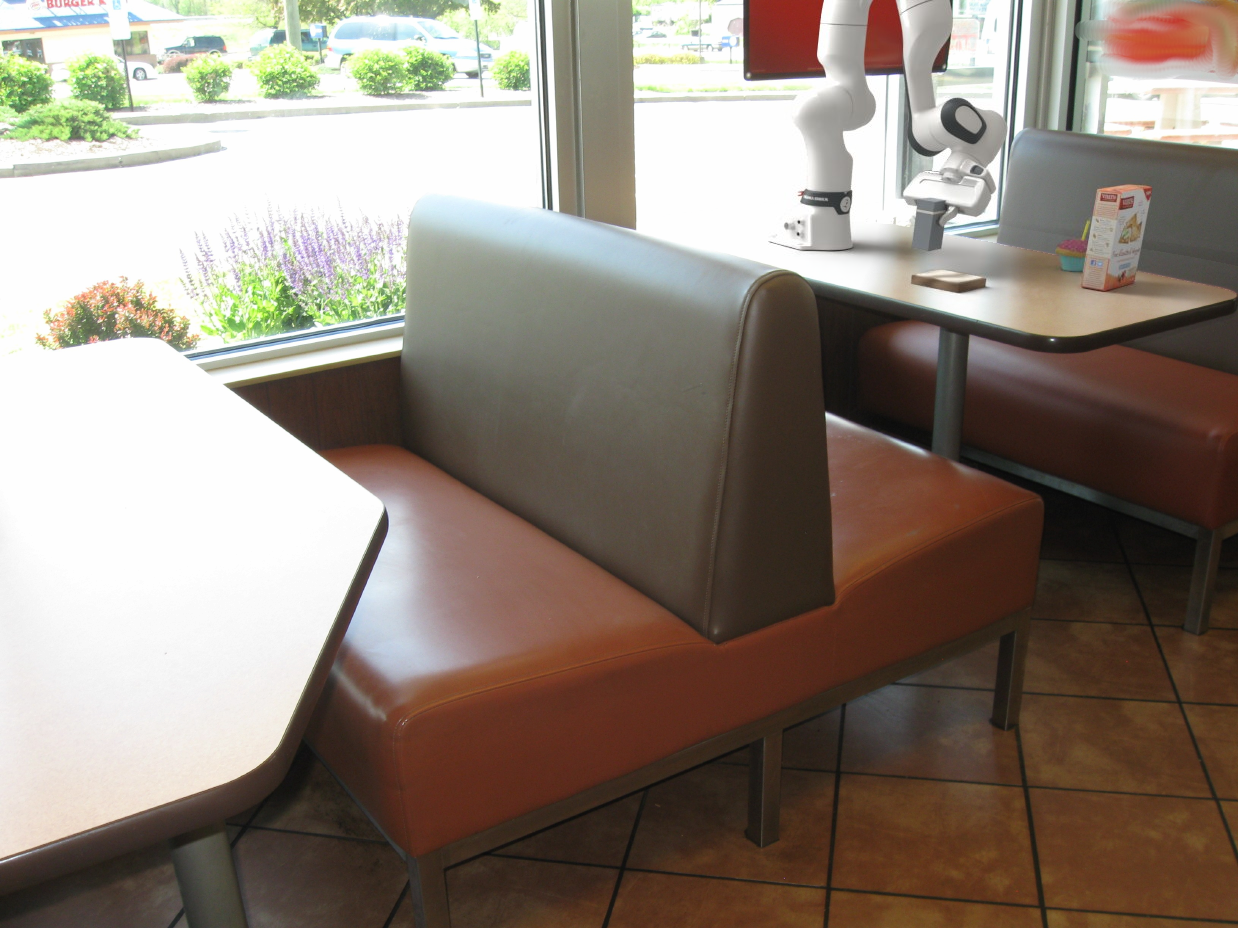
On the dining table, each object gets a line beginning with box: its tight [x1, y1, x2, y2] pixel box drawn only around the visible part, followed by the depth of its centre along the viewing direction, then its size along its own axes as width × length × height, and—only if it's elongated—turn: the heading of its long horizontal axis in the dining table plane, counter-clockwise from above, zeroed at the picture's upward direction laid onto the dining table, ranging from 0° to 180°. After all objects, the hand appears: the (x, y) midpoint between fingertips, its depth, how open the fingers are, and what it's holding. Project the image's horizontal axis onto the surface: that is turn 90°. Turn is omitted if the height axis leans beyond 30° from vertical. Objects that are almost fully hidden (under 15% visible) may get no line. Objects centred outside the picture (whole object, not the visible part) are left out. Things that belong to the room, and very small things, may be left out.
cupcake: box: [1055, 217, 1092, 272], centre depth 251 cm, size 9×8×12 cm
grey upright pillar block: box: [911, 197, 947, 252], centre depth 248 cm, size 5×5×11 cm
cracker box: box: [1080, 184, 1153, 292], centre depth 234 cm, size 14×6×21 cm, turn 131°
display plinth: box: [910, 268, 987, 294], centre depth 237 cm, size 12×10×2 cm
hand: (928, 222), depth 248 cm, fingers closed on grey upright pillar block, 4 cm apart
